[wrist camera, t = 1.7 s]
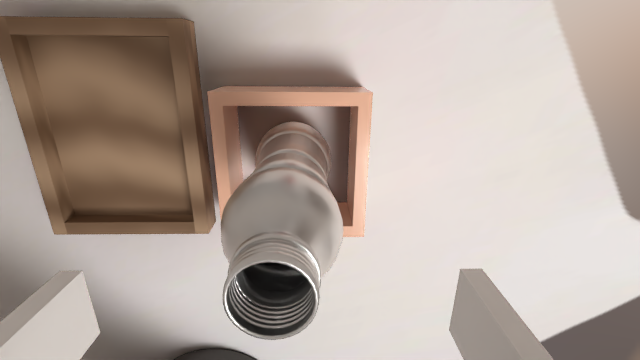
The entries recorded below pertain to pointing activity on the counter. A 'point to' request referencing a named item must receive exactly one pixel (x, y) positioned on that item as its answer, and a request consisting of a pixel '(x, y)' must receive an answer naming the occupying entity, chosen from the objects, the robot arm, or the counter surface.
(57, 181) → the tray
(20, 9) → the counter surface
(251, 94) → the wooden box frame
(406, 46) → the counter surface
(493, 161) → the counter surface
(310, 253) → the plastic bottle
